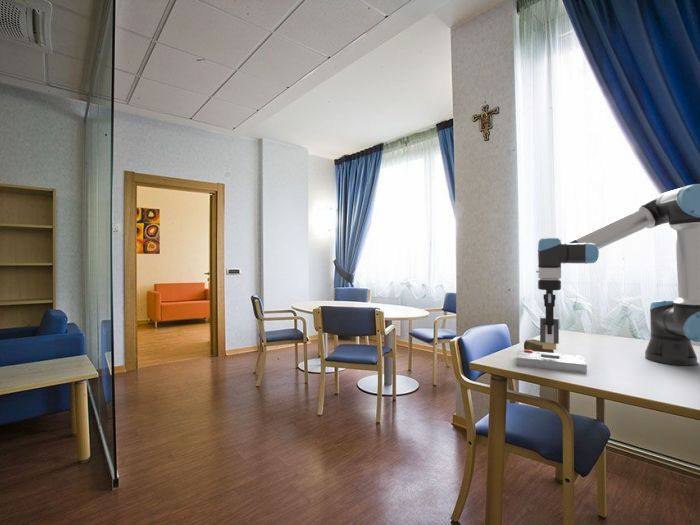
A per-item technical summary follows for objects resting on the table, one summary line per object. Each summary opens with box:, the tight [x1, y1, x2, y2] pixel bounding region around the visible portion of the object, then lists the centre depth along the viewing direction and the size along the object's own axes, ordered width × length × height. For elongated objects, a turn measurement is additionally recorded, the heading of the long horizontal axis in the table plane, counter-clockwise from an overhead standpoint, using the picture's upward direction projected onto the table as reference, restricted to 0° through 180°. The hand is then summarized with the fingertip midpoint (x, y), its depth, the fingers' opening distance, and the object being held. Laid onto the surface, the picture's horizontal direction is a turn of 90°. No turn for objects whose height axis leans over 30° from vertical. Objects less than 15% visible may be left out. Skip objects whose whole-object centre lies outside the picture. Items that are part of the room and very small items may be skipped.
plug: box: [539, 315, 560, 351], centre depth 136 cm, size 6×5×12 cm
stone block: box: [523, 338, 555, 353], centre depth 153 cm, size 6×12×5 cm, turn 17°
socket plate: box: [516, 348, 588, 374], centre depth 136 cm, size 22×13×4 cm, turn 62°
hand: (549, 341), depth 136 cm, fingers closed on plug, 5 cm apart
